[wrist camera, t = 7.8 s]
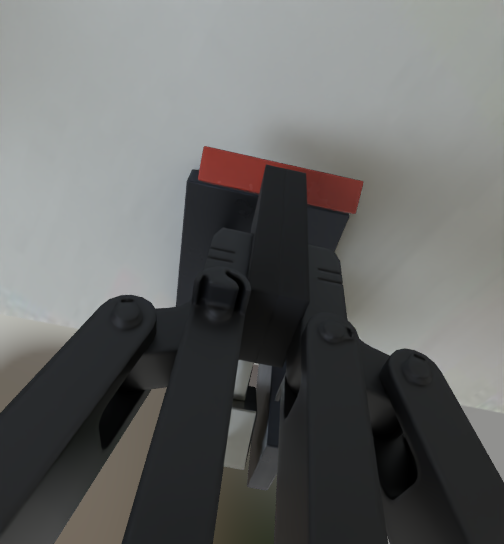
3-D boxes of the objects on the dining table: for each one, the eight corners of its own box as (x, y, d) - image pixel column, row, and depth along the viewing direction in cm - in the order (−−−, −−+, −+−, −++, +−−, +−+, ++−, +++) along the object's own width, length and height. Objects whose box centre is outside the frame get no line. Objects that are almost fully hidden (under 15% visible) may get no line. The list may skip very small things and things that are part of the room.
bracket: (192, 168, 22) (106, 354, 12) (347, 202, 22) (382, 407, 13) (178, 315, 30) (120, 496, 20) (292, 338, 31) (287, 525, 21)
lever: (208, 151, 17) (202, 143, 15) (351, 183, 17) (368, 180, 15) (157, 422, 19) (144, 453, 17) (286, 446, 20) (292, 479, 17)
